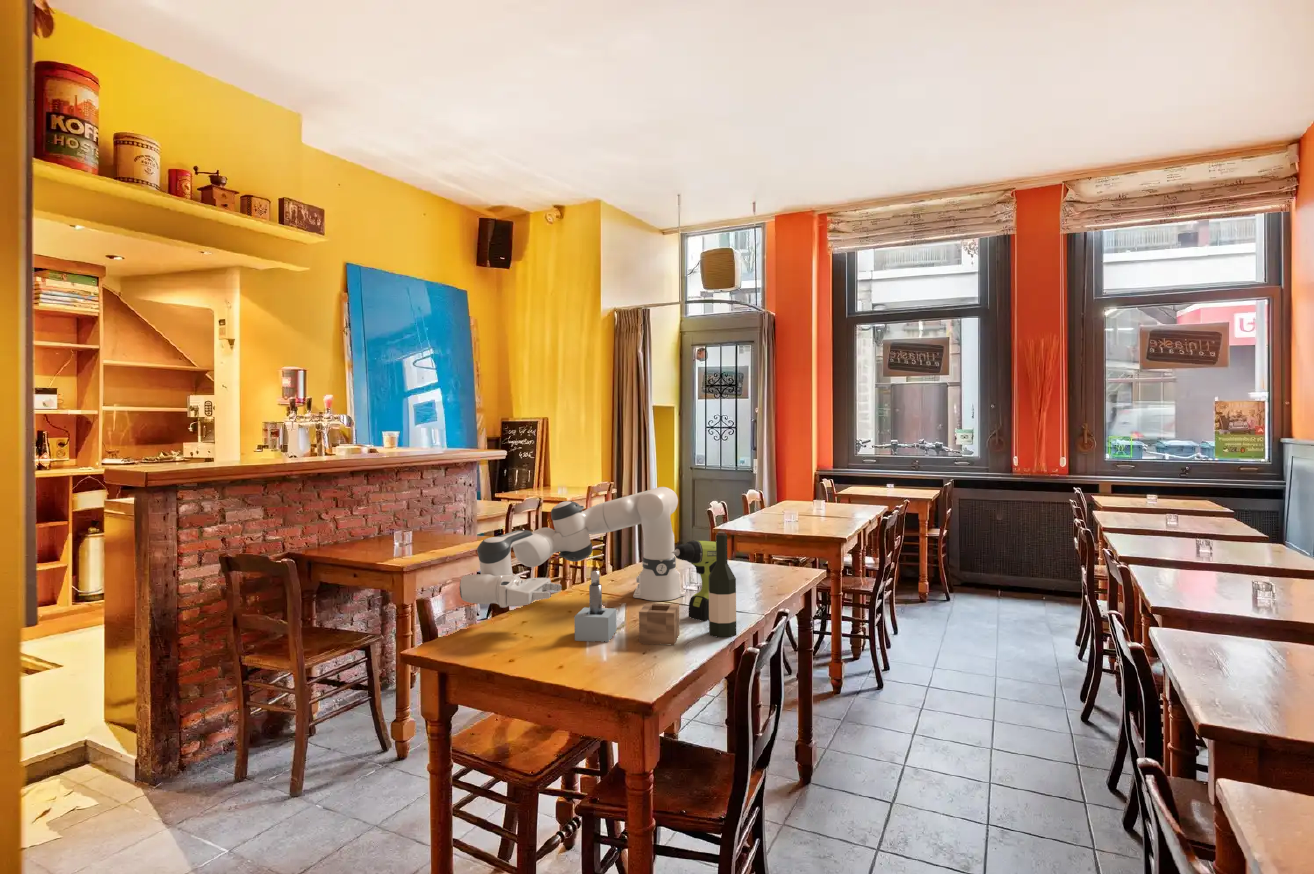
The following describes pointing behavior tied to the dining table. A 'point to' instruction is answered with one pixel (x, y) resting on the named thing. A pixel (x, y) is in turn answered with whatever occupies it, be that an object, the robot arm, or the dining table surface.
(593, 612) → the stepped metal cylinder
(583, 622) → the socket block
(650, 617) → the block
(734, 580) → the wine bottle
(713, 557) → the cordless drill
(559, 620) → the dining table surface
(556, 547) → the robot arm
